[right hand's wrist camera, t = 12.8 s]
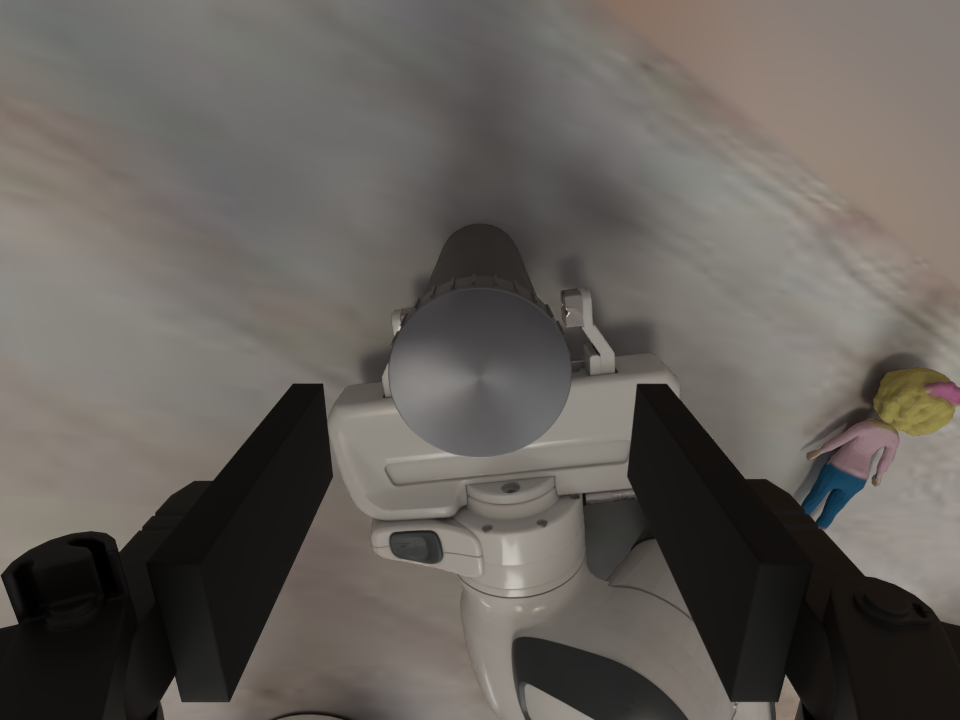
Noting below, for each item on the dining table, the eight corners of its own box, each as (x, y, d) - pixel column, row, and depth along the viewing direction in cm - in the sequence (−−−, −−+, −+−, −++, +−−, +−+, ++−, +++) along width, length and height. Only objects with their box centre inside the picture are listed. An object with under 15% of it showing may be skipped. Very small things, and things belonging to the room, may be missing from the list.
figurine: (816, 529, 44) (948, 372, 38) (849, 570, 40) (1001, 402, 34) (753, 505, 43) (877, 342, 38) (780, 545, 39) (923, 369, 34)
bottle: (422, 263, 36) (365, 370, 18) (481, 205, 35) (482, 258, 17) (478, 320, 37) (477, 472, 19) (537, 266, 36) (593, 375, 18)
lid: (357, 356, 19) (346, 375, 18) (482, 234, 18) (483, 242, 16) (477, 464, 21) (476, 491, 19) (601, 360, 19) (612, 380, 18)
